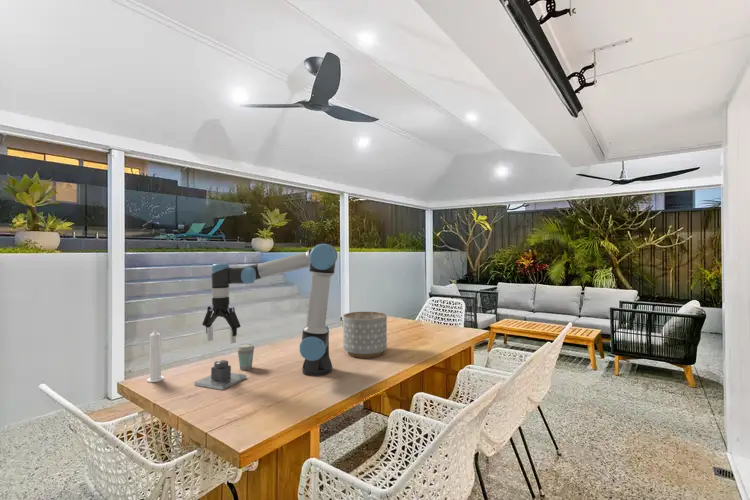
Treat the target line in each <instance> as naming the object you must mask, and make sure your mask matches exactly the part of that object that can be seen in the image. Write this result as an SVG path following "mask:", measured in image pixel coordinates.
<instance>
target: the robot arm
mask: <svg viewBox="0 0 750 500" xmlns="http://www.w3.org/2000/svg"><path fill="white" fill-rule="evenodd" d="M337 260H338V251H337V249H336V248H335V247H334V246H333V245H332V244H329V243H319V244H317V245H315V246H313V247H312V248H311V249H308V250H307V251H306V252H302V253H299V254H294V255H289V256H286V257H281V258H278V259H273V260H269V261H264V262H261V263H257V264H253V265H252V264H251V265H248V266H243V267H230V266H229V265H230V264H229V263H213V264H212V265H211V296H212V298H211V304H212V305H210V306H207V308H206V310H207V311H206V313H205V316H204V319H203V321H202V326H204V327H205V328H206V329H205V330H206V333H205V334H206V338H207V339H206V341H207V342H210V341H213V340H214V335H213V334H214V333H213V327H214V326H213V323H214V322H215V321H216V319H217V318H218V317H221V318H223V319H225V320H226V322H227V324H228V325H229V327H230V329H229V331H230V332H229V333H230V334H229V335H230V341H229V342H230V344H231V345H232V344H235V343H237V342H236V340H237V335H238V329H239V328H241V324H240V322H239V318H238V316H237V313H236V311H235V310H236V309H235V307H229V305H230V284H231V285H232V284H234V285H236V284H237V285H241V284H245V285H249V284H254V283H255V281H258V280H261V279H264V278H269V277H274V276H278V275H282V274H285V273H291V272H294V271H298V270H299V271H300V270H303V269H306V268H307V269H308V268H309V270H308V271H309V273H310V274H311V283H310V292H309V300H308V301H309V302H308V310H307V311H308V312H307V320H306V326H305V327H304V328H302V335H301V341H300V343H299V353H300V355H301V357H302V358H304V361H303V364H302V369H301V370H302V374H304V375H306V376H311V377H319V376H325V375H329V374H331V373H332V372H333V363H332V360H331V357H330V341H329V340H330V329H329V326H327V325H326V321H327V312H328V311H327V310H328V303H329V295H330V285H331V284H330V283H331V278H332V276H333V275H334V274H335V269H336V262H337Z"/></svg>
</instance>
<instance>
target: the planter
mask: <svg viewBox="0 0 750 500" xmlns="http://www.w3.org/2000/svg"><path fill="white" fill-rule="evenodd" d="M342 318H343V320H342V321H343V322H342V323H343V326H342V328H343V329H342V330H343V331H342V332H343V334H342V335H343V337H342V338H343V347H342V348H343V350H344V351H346V353H347V354H348V355H349V356H350V357H354V358H359V359H363V358H364V359H367V358H368V359H369V358H375V357H379V356H381V355H383V352H384V351H386V350H387V337H388V336H387V323H388V322H387V314H386V313H383V312H377V311H354V312H352V311H351V312H348V313H345V314H343V316H342Z"/></svg>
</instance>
